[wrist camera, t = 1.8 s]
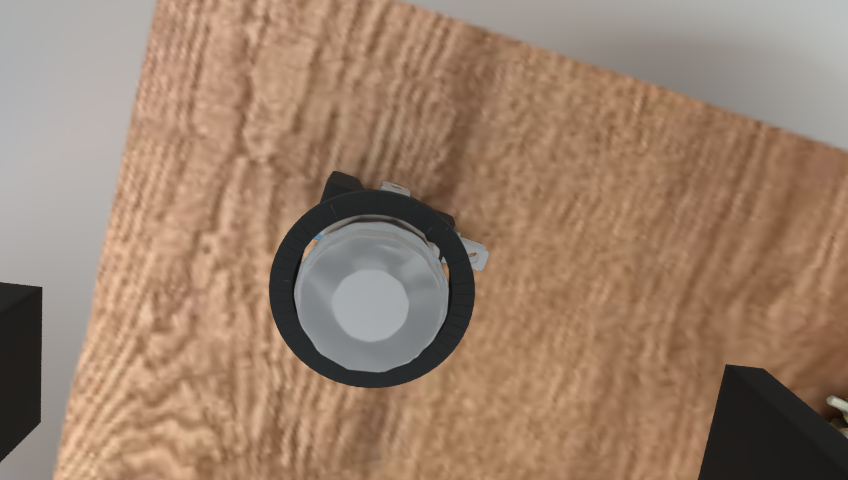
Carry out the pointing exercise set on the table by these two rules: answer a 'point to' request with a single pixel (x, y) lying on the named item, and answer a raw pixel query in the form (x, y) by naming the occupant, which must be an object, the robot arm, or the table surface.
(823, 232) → the table surface
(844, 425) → the composite cable
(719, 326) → the table surface
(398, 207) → the push button
